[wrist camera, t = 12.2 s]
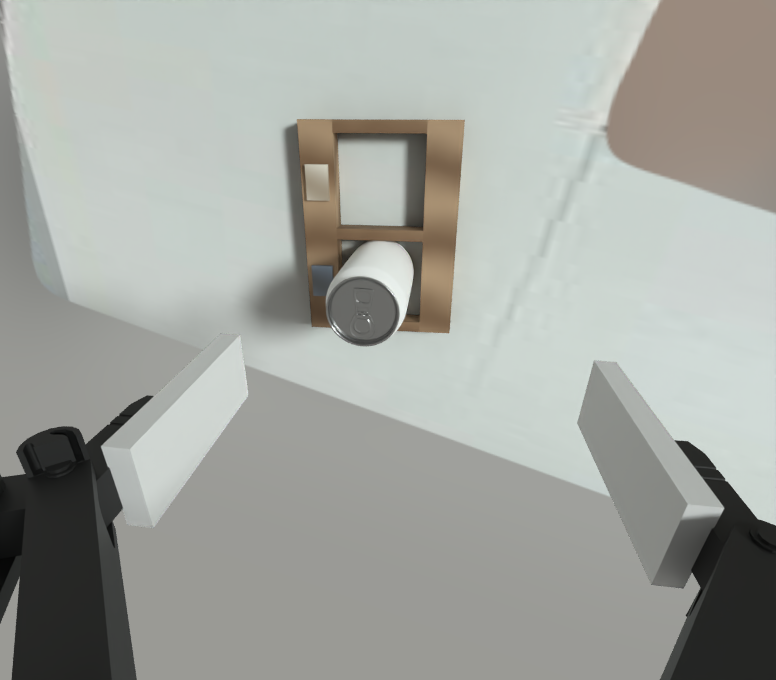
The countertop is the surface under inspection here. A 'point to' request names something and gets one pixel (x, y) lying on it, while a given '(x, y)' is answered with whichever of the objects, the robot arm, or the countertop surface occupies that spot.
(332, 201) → the socket board
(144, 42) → the countertop surface
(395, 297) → the can
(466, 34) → the countertop surface
